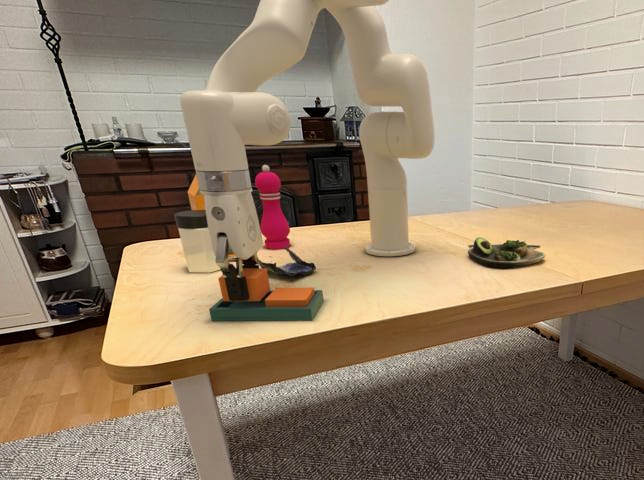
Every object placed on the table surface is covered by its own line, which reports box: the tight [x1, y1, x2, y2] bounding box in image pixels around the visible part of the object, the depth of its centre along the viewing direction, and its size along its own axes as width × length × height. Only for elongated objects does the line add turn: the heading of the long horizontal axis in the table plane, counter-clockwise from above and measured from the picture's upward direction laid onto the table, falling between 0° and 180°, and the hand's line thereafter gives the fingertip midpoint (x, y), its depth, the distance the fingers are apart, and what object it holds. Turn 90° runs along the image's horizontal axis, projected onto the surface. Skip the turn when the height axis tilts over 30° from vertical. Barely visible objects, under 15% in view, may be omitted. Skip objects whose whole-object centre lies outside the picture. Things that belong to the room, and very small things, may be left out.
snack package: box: [258, 245, 317, 281], centre depth 100 cm, size 12×6×12 cm
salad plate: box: [467, 236, 546, 269], centre depth 114 cm, size 19×18×5 cm
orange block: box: [218, 267, 271, 301], centre depth 80 cm, size 6×6×4 cm
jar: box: [173, 209, 221, 274], centre depth 103 cm, size 9×8×12 cm
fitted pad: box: [265, 286, 316, 307], centre depth 81 cm, size 7×7×2 cm
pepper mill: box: [254, 164, 291, 250], centre depth 119 cm, size 7×7×20 cm
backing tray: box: [208, 289, 325, 322], centre depth 82 cm, size 10×17×2 cm, turn 92°
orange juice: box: [187, 174, 236, 258], centre depth 112 cm, size 8×9×20 cm
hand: (246, 292), depth 80 cm, fingers closed on orange block, 6 cm apart
